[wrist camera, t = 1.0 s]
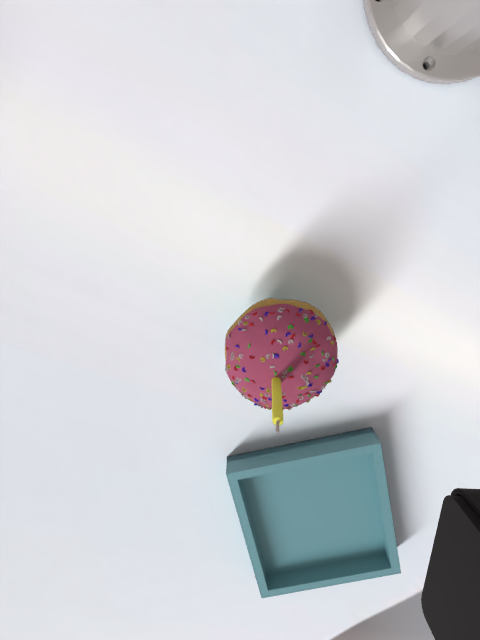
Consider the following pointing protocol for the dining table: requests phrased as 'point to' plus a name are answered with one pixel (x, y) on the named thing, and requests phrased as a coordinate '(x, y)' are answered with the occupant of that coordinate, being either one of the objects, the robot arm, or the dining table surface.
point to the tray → (315, 512)
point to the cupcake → (280, 354)
